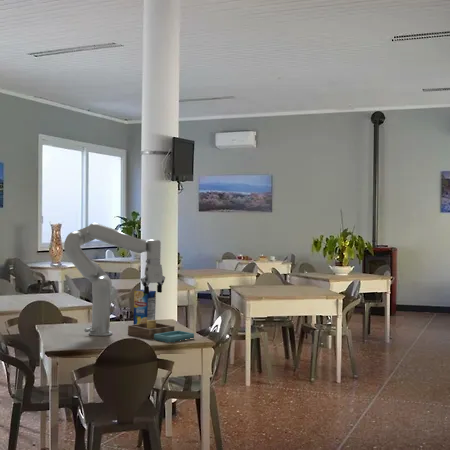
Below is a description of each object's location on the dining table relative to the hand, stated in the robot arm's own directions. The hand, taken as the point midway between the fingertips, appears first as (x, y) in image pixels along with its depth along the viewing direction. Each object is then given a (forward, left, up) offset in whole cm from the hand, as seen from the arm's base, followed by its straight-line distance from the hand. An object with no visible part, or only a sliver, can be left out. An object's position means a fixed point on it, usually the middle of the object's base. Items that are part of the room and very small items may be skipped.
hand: (152, 292), depth 351 cm
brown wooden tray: (0, 0, -23) cm, 23 cm away
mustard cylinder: (0, 0, -23) cm, 23 cm away
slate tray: (0, -18, -23) cm, 29 cm away
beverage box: (+12, +19, -23) cm, 32 cm away
